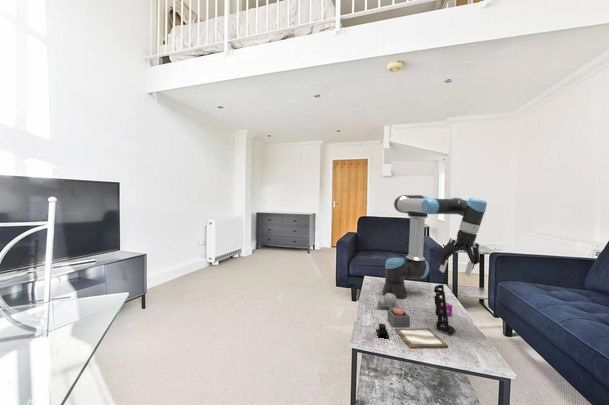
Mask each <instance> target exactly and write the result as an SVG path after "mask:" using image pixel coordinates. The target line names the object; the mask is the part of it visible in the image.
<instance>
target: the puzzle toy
mask: <svg viewBox="0 0 609 405" xmlns="http://www.w3.org/2000/svg"><path fill="white" fill-rule="evenodd" d="M441 305H442V306H443V303H441ZM446 308H447V316H448V317H453V305H452V304H450V303H449V302H446ZM436 309H437V306H436V305H435V310H436ZM441 313H443V310H441Z"/></svg>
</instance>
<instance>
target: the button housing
mask: <svg viewBox="0 0 609 405" xmlns="http://www.w3.org/2000/svg"><path fill="white" fill-rule="evenodd" d="M387 321H388V322H389V324H390V325H391V326H392V327H393V328H411V316H410V315H409V314H408V313H407V312H406V311H405V310H404V316H395V315H394V314H393V310H390V309H387Z"/></svg>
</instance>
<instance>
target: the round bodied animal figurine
mask: <svg viewBox="0 0 609 405" xmlns="http://www.w3.org/2000/svg"><path fill="white" fill-rule="evenodd" d="M397 300H398V299H397V298H396V296H395V295H394V294H392V293H387V294H385V295H383V298H380V297H378V302H376V303H375V305H376V307H377V309H379V310H381V309H382V308H383V307H385V306H387V307H388V310H393V308H394V307H400V305H399V303H398V301H397Z"/></svg>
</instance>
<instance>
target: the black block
mask: <svg viewBox="0 0 609 405" xmlns="http://www.w3.org/2000/svg"><path fill="white" fill-rule="evenodd" d="M375 329H376V332H377V336H378V338H384V339H389V338H390V335H389V332H388V329H387V326H386V324H385V323H378V326H377V328H375ZM376 332H375V333H376ZM388 341H391V339H389V340H388Z"/></svg>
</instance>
